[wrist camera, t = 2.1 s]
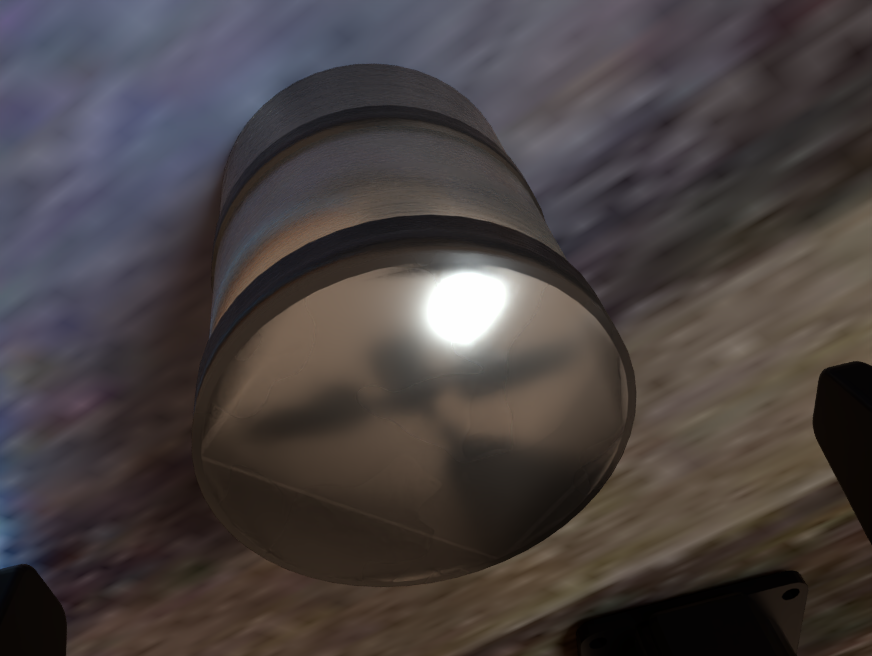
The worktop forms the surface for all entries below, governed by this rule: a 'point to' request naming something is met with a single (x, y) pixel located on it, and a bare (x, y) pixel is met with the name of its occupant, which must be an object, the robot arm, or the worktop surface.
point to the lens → (396, 342)
